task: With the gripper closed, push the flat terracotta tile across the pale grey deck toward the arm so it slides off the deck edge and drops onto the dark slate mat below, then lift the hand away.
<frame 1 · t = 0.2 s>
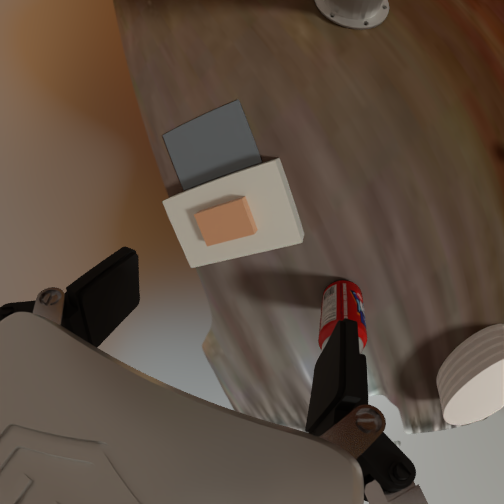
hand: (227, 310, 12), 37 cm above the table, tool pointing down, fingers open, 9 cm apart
soda can: (342, 294, 52), on the table
plate stack: (479, 362, 49), on the table
tile: (227, 220, 47), point 4 cm above the table, touching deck
mat: (209, 146, 46), on the table
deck: (234, 213, 50), on the table
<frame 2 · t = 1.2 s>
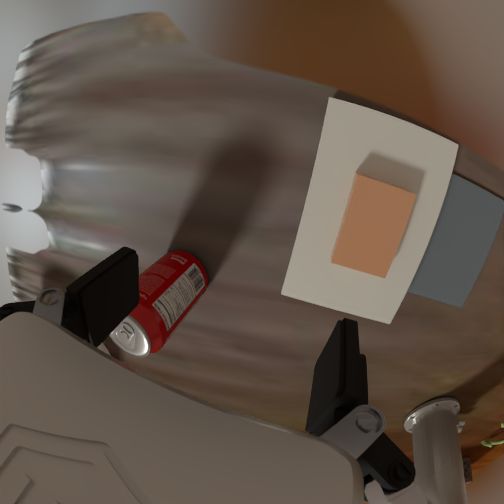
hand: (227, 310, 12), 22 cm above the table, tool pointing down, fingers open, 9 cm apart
soda can: (186, 271, 40), on the table
tile: (371, 223, 26), point 4 cm above the table, touching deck
mat: (455, 244, 27), on the table
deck: (366, 212, 29), on the table
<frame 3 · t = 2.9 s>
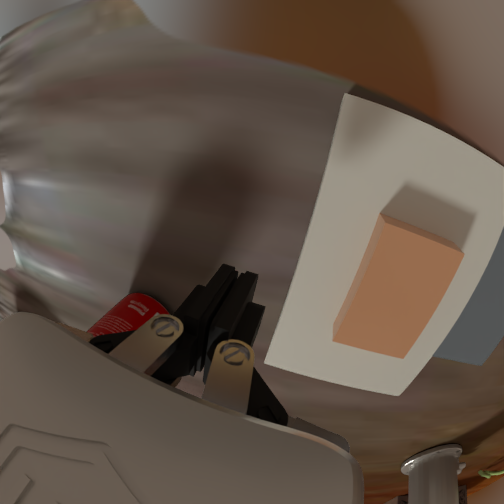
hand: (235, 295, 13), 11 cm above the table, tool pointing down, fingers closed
soda can: (152, 315, 31), on the table
tile: (393, 286, 17), point 4 cm above the table, touching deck
mat: (488, 299, 19), on the table
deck: (384, 261, 21), on the table
tissue box cover: (422, 497, 42), on the table
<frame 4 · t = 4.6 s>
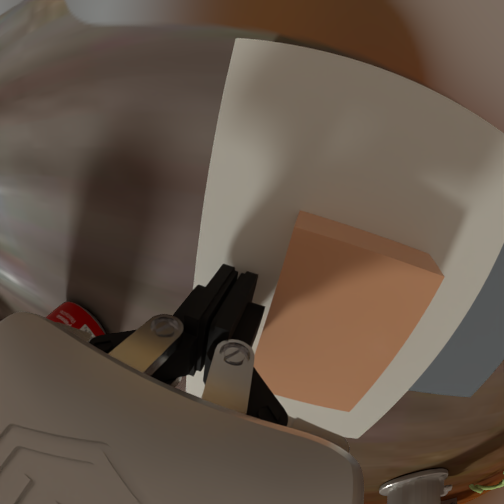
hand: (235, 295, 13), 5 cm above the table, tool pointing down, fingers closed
soda can: (90, 325, 26), on the table
tile: (333, 317, 12), point 4 cm above the table, touching gripper
mat: (483, 322, 14), on the table
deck: (332, 276, 16), on the table
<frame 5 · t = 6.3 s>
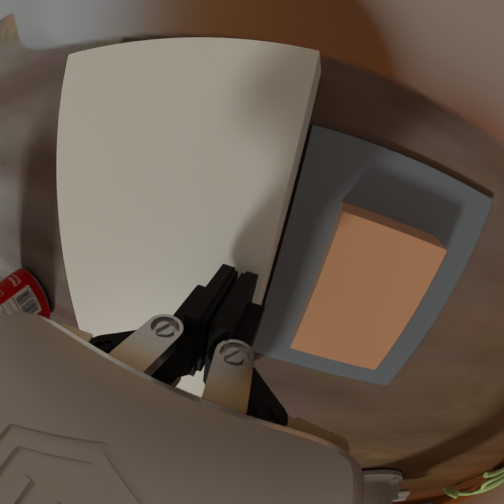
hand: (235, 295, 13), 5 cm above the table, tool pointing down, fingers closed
figurine: (493, 466, 24), on the table
soda can: (38, 291, 28), on the table
tile: (365, 306, 14), point 2 cm above the table, tilted 180°, touching mat
mat: (367, 286, 16), on the table
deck: (171, 226, 18), on the table
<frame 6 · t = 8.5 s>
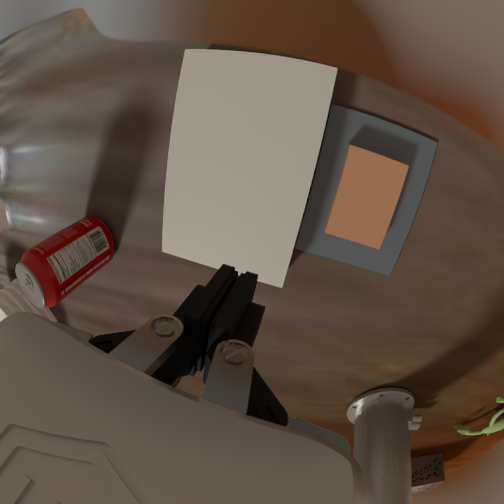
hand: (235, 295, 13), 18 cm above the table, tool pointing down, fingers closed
figurine: (496, 407, 35), on the table
soda can: (100, 237, 38), on the table
plate stack: (39, 320, 59), on the table
tile: (367, 199, 24), point 2 cm above the table, tilted 180°, touching mat
mat: (367, 195, 26), on the table
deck: (246, 161, 28), on the table
tissue box cover: (394, 466, 52), on the table
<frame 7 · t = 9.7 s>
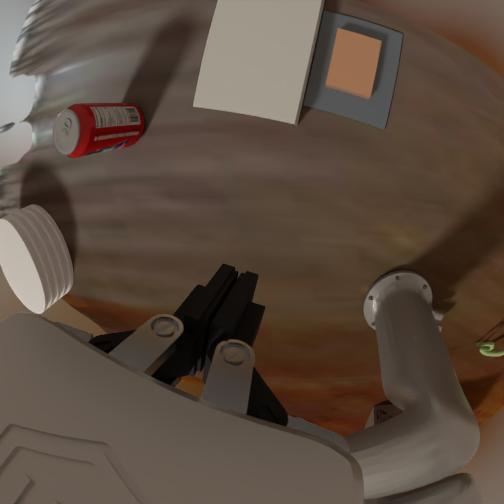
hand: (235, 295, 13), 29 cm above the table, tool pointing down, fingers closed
soda can: (130, 124, 41), on the table
plate stack: (44, 250, 62), on the table
tile: (354, 61, 27), point 2 cm above the table, tilted 180°, touching mat
mat: (355, 65, 29), on the table
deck: (264, 46, 31), on the table
tissue box cover: (412, 415, 53), on the table
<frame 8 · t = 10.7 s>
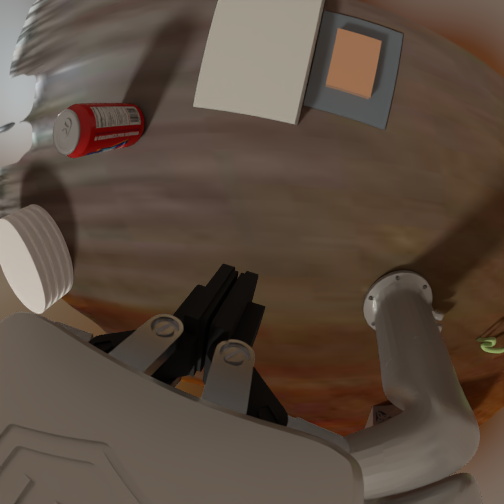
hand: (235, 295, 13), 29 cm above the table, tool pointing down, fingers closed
soda can: (130, 124, 41), on the table
plate stack: (44, 250, 62), on the table
tile: (354, 61, 27), point 2 cm above the table, tilted 180°, touching mat
mat: (355, 65, 29), on the table
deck: (264, 46, 31), on the table
tissue box cover: (412, 415, 53), on the table
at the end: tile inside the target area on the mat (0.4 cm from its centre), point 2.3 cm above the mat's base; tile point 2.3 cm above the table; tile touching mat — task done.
